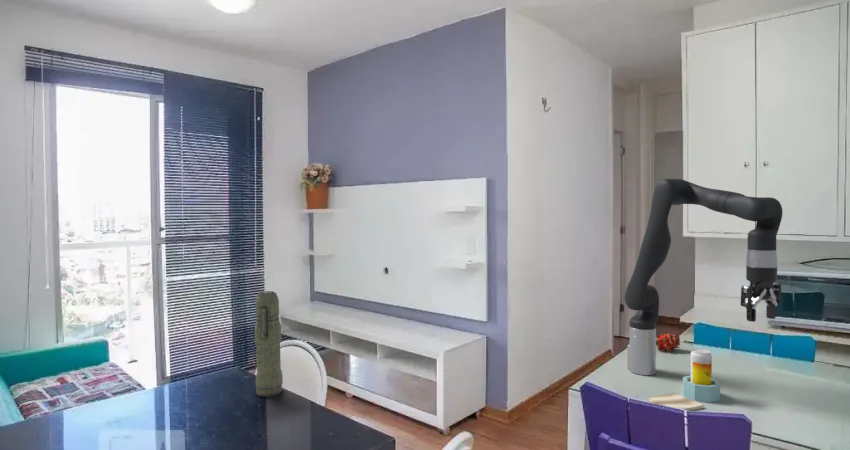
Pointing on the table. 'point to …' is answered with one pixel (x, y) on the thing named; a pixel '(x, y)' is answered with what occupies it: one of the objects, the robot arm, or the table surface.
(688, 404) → the birch board
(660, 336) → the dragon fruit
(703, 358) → the beer can
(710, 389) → the can holder
